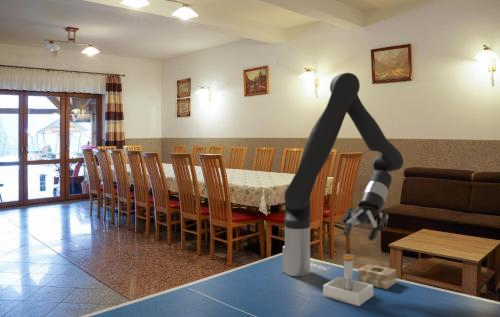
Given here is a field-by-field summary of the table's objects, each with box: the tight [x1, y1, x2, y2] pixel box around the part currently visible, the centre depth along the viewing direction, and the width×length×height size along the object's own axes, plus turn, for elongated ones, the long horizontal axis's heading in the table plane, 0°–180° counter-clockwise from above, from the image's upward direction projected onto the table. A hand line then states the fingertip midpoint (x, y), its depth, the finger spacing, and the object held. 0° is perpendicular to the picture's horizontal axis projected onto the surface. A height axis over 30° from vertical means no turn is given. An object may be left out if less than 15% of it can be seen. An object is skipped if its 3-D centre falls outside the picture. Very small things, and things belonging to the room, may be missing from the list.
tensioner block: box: [357, 263, 397, 290], centre depth 142 cm, size 10×8×4 cm
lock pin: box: [342, 253, 355, 292], centre depth 130 cm, size 3×3×12 cm
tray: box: [322, 276, 374, 307], centre depth 130 cm, size 12×10×4 cm
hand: (357, 237), depth 134 cm, fingers open, 8 cm apart
